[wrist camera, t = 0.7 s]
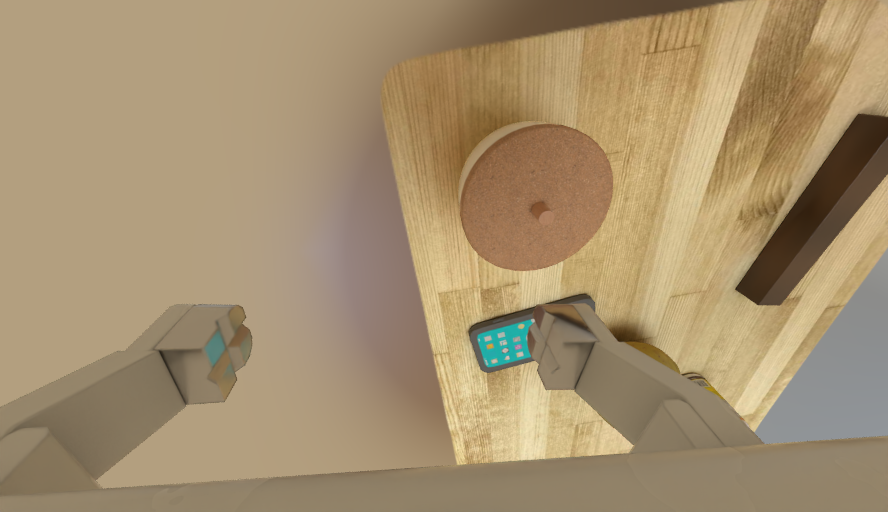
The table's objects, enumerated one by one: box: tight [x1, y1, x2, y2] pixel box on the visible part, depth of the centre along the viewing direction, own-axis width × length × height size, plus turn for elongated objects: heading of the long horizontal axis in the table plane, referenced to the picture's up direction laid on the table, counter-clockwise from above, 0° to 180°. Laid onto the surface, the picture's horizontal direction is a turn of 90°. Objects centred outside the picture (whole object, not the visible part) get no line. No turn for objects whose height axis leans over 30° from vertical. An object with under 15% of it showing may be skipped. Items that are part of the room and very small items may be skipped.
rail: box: [736, 114, 888, 305], centre depth 33 cm, size 20×3×3 cm, turn 175°
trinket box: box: [458, 121, 613, 271], centre depth 25 cm, size 11×11×9 cm
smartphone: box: [469, 295, 595, 373], centre depth 39 cm, size 9×1×15 cm
